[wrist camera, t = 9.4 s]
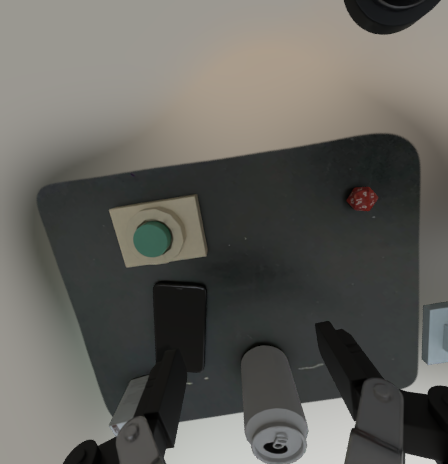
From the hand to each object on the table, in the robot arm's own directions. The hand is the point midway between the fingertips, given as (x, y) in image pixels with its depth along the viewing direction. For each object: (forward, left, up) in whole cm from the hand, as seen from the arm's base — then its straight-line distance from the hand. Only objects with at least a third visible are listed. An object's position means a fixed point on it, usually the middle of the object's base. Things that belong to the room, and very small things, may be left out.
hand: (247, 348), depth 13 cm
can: (+12, +17, -19) cm, 28 cm away
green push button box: (+5, -9, -19) cm, 21 cm away
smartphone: (+16, +3, -19) cm, 25 cm away
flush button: (+5, -9, -15) cm, 18 cm away
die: (-15, +7, -19) cm, 25 cm away
